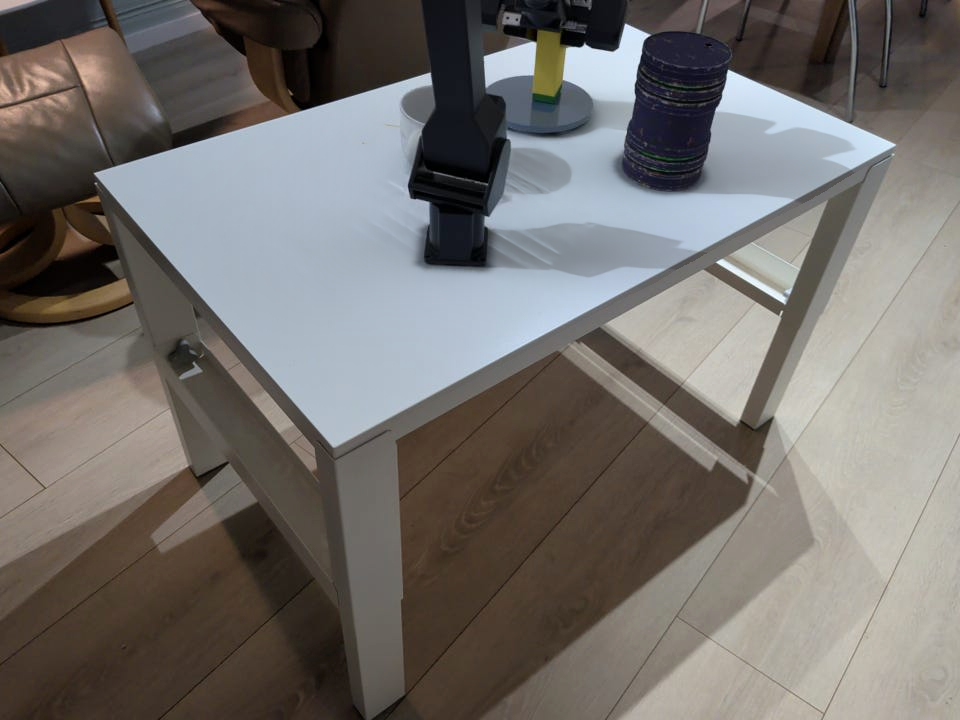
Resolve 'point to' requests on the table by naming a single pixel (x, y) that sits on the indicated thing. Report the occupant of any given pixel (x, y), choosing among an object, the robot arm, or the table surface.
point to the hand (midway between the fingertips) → (554, 42)
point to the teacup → (415, 119)
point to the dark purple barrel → (674, 109)
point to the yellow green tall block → (548, 66)
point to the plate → (542, 106)
